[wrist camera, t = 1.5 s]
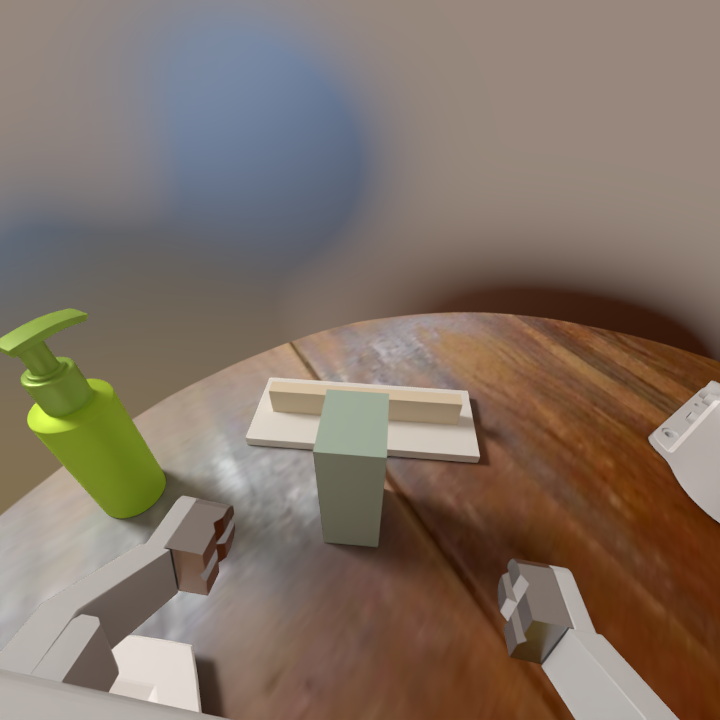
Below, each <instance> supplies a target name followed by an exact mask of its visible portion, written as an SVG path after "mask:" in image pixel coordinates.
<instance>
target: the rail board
mask: <svg viewBox="0 0 720 720" xmlns="http://www.w3.org/2000/svg"><path fill="white" fill-rule="evenodd" d="M327 389H329V390H344V391H358V392H372V393H387V394H389V413H388V439H387V456H397V457H409V458H422V459H434V460H447V461H459V462H472V463H478V460H479V458H480V454H479V449H478V444H477V438H476V433H475V428H474V422H473V417H472V412H471V406H470V401H469V396H468V391H460V390H445V389H431V388H416V387H402V386H387V385H372V384H358V383H343V382H329V381H314V380H300V379H285V378H269V381H268V383H267V386H266V388H265V391H264V393H263V396H262V398H261V401H260V403H259V406H258V408H257V411H256V413H255V416H254V418H253V421H252V423H251V426H250V428H249V431H248V433H247V436H246V441H247V444H248V445H259V446H272V447H284V448H297V449H309V450H314V445H315V441H316V436H317V432H318V427H319V423H320V418H321V414H322V409H323V404H324V400H325V395H326V391H327Z"/></svg>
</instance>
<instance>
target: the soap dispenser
mask: <svg viewBox="0 0 720 720" xmlns="http://www.w3.org/2000/svg"><path fill="white" fill-rule="evenodd" d="M87 317H88V314H86V313H84V312H81V311H78V310H76V309H72V308H71V309H65V310H61V311H57V312H53V313H50V314H47V315H44V316H42V317H39V318H37V319H35V320H32V321H31V322H28V323H26V324H24V325H23V326H21V327H19V328H17V329H15V330H14V331H12V332H10V333H8V334H7V335H5V336H3V337H2V338H0V352H2V353H4V354H6V355H9V356H10V357H12V358H15V357H16V356H18V357H19V358H20V359H21V361H22V362H23V363H24V364H25V366H26V367H27V368H28V369H27V370H26V371H25V372H24V373H23V375H22V376H21V384H22V385H23V387H24V388H25V389H26V391H27V392H28V393H29V394H30V395H31V397H32V398H33V399H34V400H35V402H36V403H35V404H34V406H33V407H32V408H31V410H30V412H29V414H28V417H27V422H28V426H29V427H30V428H31V430H32V431H34V433H35V434H36V435H37V436H38V437H39V438H40V440H41V441H42V442H43V443H44V444H45V445H46V446H47V447H48V448H49V450H50V451H51V452H52V453H53V454H54V455H55V456H56V457H57V458H58V460H59V461H60V462H61V463H62V464H63V465H64V466H65V468H66V469H67V470H68V471H69V472H70V473H71V474H72V475H73V476H74V478H75V479H76V480H77V481H78V482H79V483H80V484H81V485H82V486H83V488H84V489H85V490H86V491H87V492H88V493H89V494H90V495H91V497H92V498H93V499H94V500H95V501H96V502H97V503H98V504H99V505H100V507H101V508H102V509H103V510H104V511H105V512H106V513H107V514H108V515H109V516H111V517H114V518H129V517H133V516H136V515H138V514H140V513H142V512H144V511H146V510H147V509H149V508H150V507H151V506H152V505H154V504H155V503H156V502H157V500H158V499H159V498H160V496H161V495H162V493H163V491H164V489H165V485H166V477H165V474H164V473H163V471H162V469H161V468H160V466H159V464H158V463H157V461H156V459H155V458H154V456H153V454H152V453H151V451H150V449H149V448H148V446H147V444H146V443H145V441H144V439H143V438H142V436H141V434H140V433H139V431H138V429H137V428H136V426H135V424H134V423H133V421H132V419H131V418H130V416H129V414H128V413H127V411H126V409H125V408H124V406H123V404H122V403H121V401H120V399H119V398H118V396H117V394H116V393H115V391H114V389H113V388H112V386H111V385H110V384H109V383H107V382H106V381H103V380H99V379H85V377H84V376H83V374H82V373H81V371H80V370H79V368H78V367H77V365H76V364H75V362H74V361H73V360H72V359H70V358H67V357H54V355H53V354H52V352H51V351H50V350H49V348H48V346H47V345H46V344H45V342H44V341H43V340H45V339H47V338H48V337H50V336H52V335H53V334H55V333H57V332H59V331H61V330H63V329H65V328H67V327H70V326H72V325H75V324H78V323H81V322H84V321H86V319H87Z"/></svg>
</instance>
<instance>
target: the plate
mask: <svg viewBox="0 0 720 720" xmlns="http://www.w3.org/2000/svg"><path fill="white" fill-rule="evenodd" d="M112 653H113V655H114V658H115V660H116V662H117V665H118V668H119V675H118V677H117V678H116V680H115V682H114V684H113V685H112V687H111V689H110V691H109V693H113V694H118V695H122V696H127V697H131V698H136V699H140V700H145V701H150V702H154V703H159V704H163V705H168V706H172V707H177V708H181V709H186V710H191V711H195V712H200V713H202V711H201V702H200V693H199V684H198V675H197V668H196V662H195V656H194V650H193V645H189V644H184V643H179V642H174V641H168V640H163V639H156V638H150V637H143V636H131V635H128V636H127V637H126V638H125V639H123V640H122V641H121V642H120V643H119V644H118V645H116V646H115V647H114V648H113V649H112Z"/></svg>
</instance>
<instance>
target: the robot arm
mask: <svg viewBox="0 0 720 720" xmlns="http://www.w3.org/2000/svg"><path fill="white" fill-rule="evenodd" d="M649 442H650V443H651V445H652V446H653V447H654V448H655V449H656V450H657V451H658V452H659V453H660V454H661V455H662V456H663V457H664V458H665V459H666V461H667V462H668V463H669V465H670V467H671V469H672V471H673V473H674V475H675V476H676V478H677V480H678V482H679V483H680V485H681V486H682V487H683V489H684V490H685V491H686V492H687V494H688V495H689V496H690V497H691V498H692V499H693V500H694V501H695V502H696V503H697V504H698V505H699V506H700V507H701V508H702V509H703V510H704V511H705V512H706V513H707V514H709V515H710V516H711V517H712V518H714V519H715V520H716V521H717V522H719V523H720V384H719V383H717V382H715V381H711V382H710V383H709V384H708V385H707V386H706V387H705V388H703V389H701V390H700V391H699V392H697V393H696V394H695V395H694V396H693V397H692V398H691V399H690V400H688V401H687V402H686V403H685V404H684V405H683V406H682V407H681V408H680V409H679V410H677V411H676V412H675V413H674V414H673V415H672V416H671V417H670V418H669V419H667V420H666V421H665V422H664V423H663V424H662V425H661V426H660V427H659V428H657V429H656V430H655V431H654V432H653V433H652V434H651V435H650V436H649ZM233 515H234V509H233V506H231V505H227V504H222V503H217V502H212V501H208V500H203V499H199V498H194V497H188V496H181V497H180V498H179V499H178V500H177V501H176V502H175V504H174V505H173V506H172V508H171V509H170V511H169V512H168V513H167V515H166V516H165V518H164V519H163V521H162V522H161V523H160V525H159V526H158V528H157V529H156V530H155V532H154V533H153V535H152V536H151V537H150V539H149V540H148V542H147V543H146V545H145V544H139V545H138V546H136V547H134V548H133V549H131V550H129V551H128V552H126V553H124V554H123V555H121V556H119V557H118V558H116V559H114V560H113V561H111V562H109V563H108V564H106V565H105V566H103V567H101V568H100V569H98V570H96V571H95V572H93V573H91V574H90V575H88V576H86V577H85V578H83V579H81V580H80V581H78V582H76V583H75V584H73V585H71V586H70V587H68V588H67V589H65V590H63V591H62V592H60V593H58V594H57V595H55V596H53V597H52V598H50V599H48V600H47V601H45V602H43V603H42V604H41V605H40V606H39V607H38V609H37V610H36V611H35V612H34V613H33V614H32V616H31V617H30V618H29V619H28V620H27V621H26V623H25V624H24V625H23V626H22V627H21V628H20V630H19V631H18V632H17V633H16V634H15V636H14V637H13V638H12V639H11V640H10V641H9V643H8V644H7V645H6V646H5V647H4V648H3V650H2V651H1V652H0V720H232V719H227V718H222V717H218V716H213V715H209V714H204V713H200V712H195V711H191V710H186V709H181V708H177V707H172V706H168V705H163V704H159V703H154V702H150V701H145V700H140V699H136V698H131V697H127V696H122V695H118V694H113V693H109V691H110V689H111V687H112V685H113V684H114V682H115V680H116V678H117V677H118V675H119V668H118V665H117V662H116V660H115V658H114V655H113V653H112V649H113V648H114V647H115V646H116V645H118V644H119V643H120V642H121V641H122V640H123V639H125V638H126V637H127V636H128V635H129V634H130V633H132V632H133V631H134V630H135V629H136V628H137V627H139V626H140V625H141V624H142V623H143V622H144V621H145V620H147V619H148V618H149V617H150V616H151V615H152V614H154V613H155V612H156V611H157V610H158V609H159V608H161V607H162V606H163V605H164V604H165V603H166V602H168V601H169V600H170V599H171V598H172V597H173V596H174V595H176V594H177V593H178V591H184V592H190V593H196V594H202V595H207V596H208V594H209V592H210V590H211V588H212V586H213V584H214V582H215V580H216V578H217V576H218V573H219V565H218V563H219V562H220V561H222V560H223V559H224V558H226V557H227V554H228V552H229V550H230V548H231V545H232V541H233V538H234V532H235V524H234V522H233V521H232V520H231V519H232V517H233ZM507 568H508V573H506V574H504V575H502V577H501V579H500V581H499V586H498V602H499V608H500V612H501V613H502V614H503V616H504V617H505V618H506V620H507V623H506V625H505V627H504V633H505V637H506V642H507V647H508V652H509V657H512V658H516V659H521V660H525V661H529V662H534V663H538V664H542V668H543V669H544V671H545V672H546V674H547V676H548V677H549V679H550V680H551V682H552V683H553V685H554V687H555V688H556V690H557V691H558V693H559V694H560V696H561V697H562V699H563V701H564V702H565V704H566V705H567V707H568V708H569V710H570V712H571V713H572V715H573V716H574V718H575V719H576V720H679V719H678V718H677V717H676V716H675V715H674V714H673V712H672V711H671V710H670V709H669V708H668V707H667V706H666V705H665V704H664V703H663V701H662V700H661V699H660V698H659V697H658V696H657V695H656V694H655V693H654V692H653V690H652V689H651V688H650V687H649V686H648V685H647V684H646V683H645V682H644V681H643V679H642V678H641V677H640V676H639V675H638V674H637V673H636V672H635V671H634V670H633V669H632V667H631V666H630V665H629V664H628V663H627V662H626V661H625V660H624V659H623V658H622V656H621V655H620V654H619V653H618V652H617V651H616V650H615V649H614V648H613V647H612V645H611V644H610V643H609V642H608V641H607V640H606V639H605V638H604V637H603V636H602V635H600V634H596V632H595V629H594V627H593V624H592V622H591V619H590V617H589V615H588V612H587V610H586V607H585V605H584V602H583V600H582V597H581V595H580V592H579V590H578V587H577V585H576V582H575V580H574V578H573V575H572V573H571V572H570V571H569V569H567V568H562V567H556V566H550V565H547V564H543V563H537V562H531V561H525V560H520V559H514V558H513V559H511V560H510V561H509V563H508V565H507Z"/></svg>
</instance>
